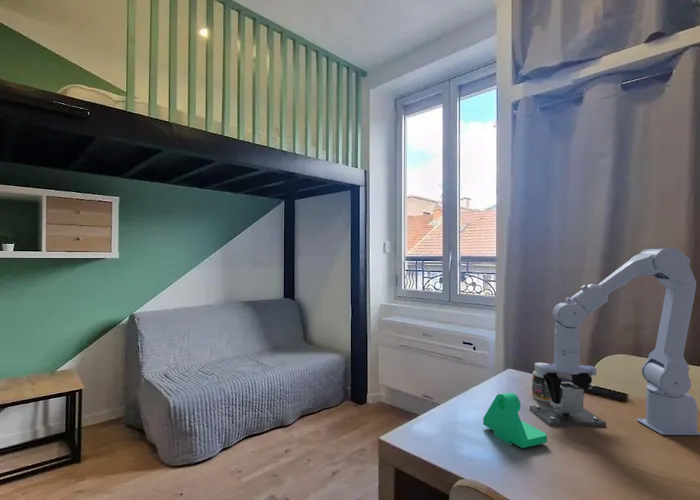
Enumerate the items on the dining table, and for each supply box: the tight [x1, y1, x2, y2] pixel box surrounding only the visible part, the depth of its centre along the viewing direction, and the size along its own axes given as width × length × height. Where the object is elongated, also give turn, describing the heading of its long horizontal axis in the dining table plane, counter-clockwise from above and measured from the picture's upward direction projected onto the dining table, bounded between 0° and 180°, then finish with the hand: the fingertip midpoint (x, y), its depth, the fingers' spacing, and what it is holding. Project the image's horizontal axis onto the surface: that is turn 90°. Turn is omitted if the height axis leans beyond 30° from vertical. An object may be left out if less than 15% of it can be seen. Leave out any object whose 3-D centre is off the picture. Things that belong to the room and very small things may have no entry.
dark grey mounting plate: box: [529, 404, 607, 427], centre depth 100 cm, size 14×10×6 cm
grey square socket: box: [549, 381, 585, 413], centre depth 100 cm, size 5×5×6 cm
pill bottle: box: [531, 362, 551, 403], centre depth 113 cm, size 6×6×10 cm
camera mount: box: [482, 392, 548, 449], centre depth 89 cm, size 12×8×10 cm, turn 22°
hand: (566, 402), depth 100 cm, fingers closed on grey square socket, 5 cm apart
